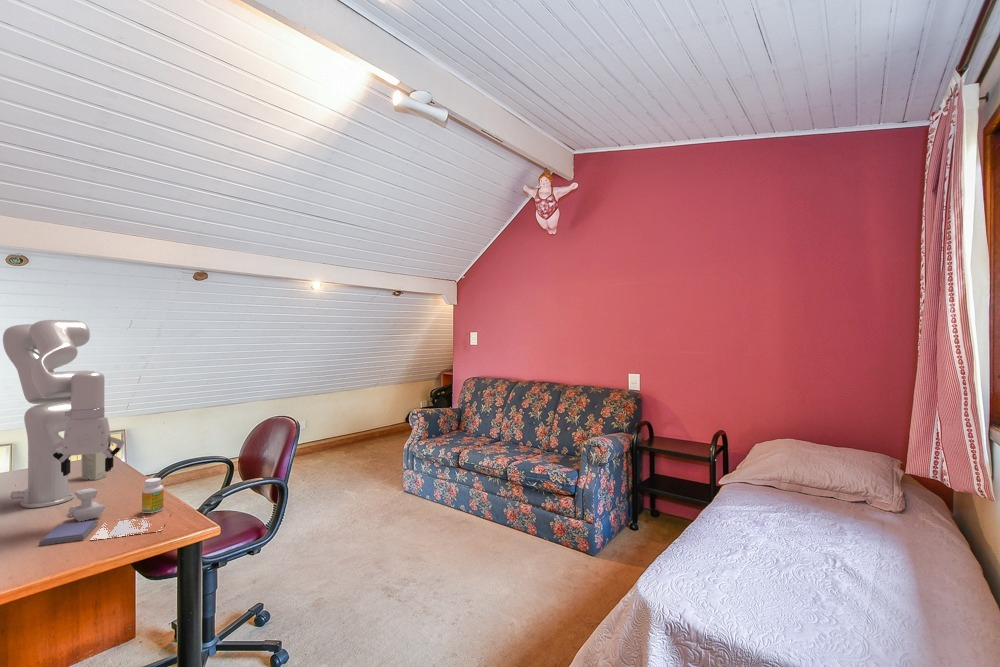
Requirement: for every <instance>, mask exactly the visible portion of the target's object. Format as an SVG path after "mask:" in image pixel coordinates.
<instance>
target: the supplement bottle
mask: <svg viewBox="0 0 1000 667" xmlns="http://www.w3.org/2000/svg"><path fill="white" fill-rule="evenodd" d="M161 483H162V478H161V477H152V478H147V479H145V481H144V487H143V488H142V490H141V513H142V514H144V513H151V514H155V513H154V512H157V513H159V512H161V511H163V510H164V497H165V496H164V491H165V490H164V489H165V488H164V487H165V486H164V485H162V484H161ZM162 509H163V510H162ZM158 511H159V512H158Z"/></svg>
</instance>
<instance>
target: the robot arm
mask: <svg viewBox="0 0 1000 667" xmlns="http://www.w3.org/2000/svg"><path fill="white" fill-rule="evenodd" d="M90 337H91V332H90V328H89V327H88V325H87V324H86V323H85V322H83V321H81V320H74V319H73V320H69V319H66V320H65V319H44V320H43V319H42V320H39V321H37V322H36V321H35V322H34V323H32V324H30V323H29V324H28V323H27V324H17V325H12V326H9V327H7V328H6V329H5V330H4V332H3V335H2V345H3V349H4V353H6V356H7V357H8V359H9V360H10V362H11V363H12V364H13V366H14V367H15V369H16V371H17V375H18V378H19V382H20V386H21V389H22V393H23V396H24V398H25V400H26V401H27V402H28V403H29V404H33V405H34V406H31V407H30V408H28V409H27V410H26V411H25V413H24V418H23V419H24V420H23V421H24V426H25V430H26V434H27V435H26V436H27V489H24V490H15V491H13V490H12V491H11V492H10V498H11V499H12V500H18V499H22V500H21V501H20V507H23V508H29V509H32V508H34V509H35V508H45V507H50V506H55V505H58V504H64V503H65V502H68V501H71V500H72V499H73V498H75V492H73V491H69V474H71V459H69V458H70V457H72V456H81V455H84V454H96V453H103V454H105V455H106V459H105V471H106V473H107V472H110V471H111V470H112V469H113V468H114V457H115V455H117V454H118V453H119V452H120V451H121V449H122V448H123V446H124V444H125V443H126V442H125V440H123V439H120V438H116V437H114V436H111V431H110V424H109V419H108V417H106V416H105V375H104V374H103V373H102V372H96V371H94V370H76V371H75V370H70V371H69V370H68V371H67V370H66V371H55V370H54V369H57V368H60V367H63V366H65V365H67V364H69V363H72V362H73V361H74V360H75V359H76V357H77V356H78V353H79V352H78V348H77V347H81V346H85V345H86V344H87V343H88V342H89V341H90ZM35 350H37V351H38V352H37V351H35ZM61 432H63V436H61V435H60V434H59V433H61ZM111 443H113V444H116V447H115V448H114V449H113V450H112V449H111V446H112V444H111Z"/></svg>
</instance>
